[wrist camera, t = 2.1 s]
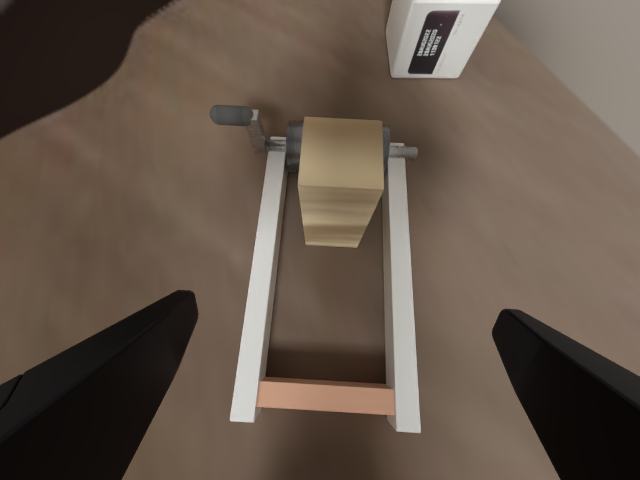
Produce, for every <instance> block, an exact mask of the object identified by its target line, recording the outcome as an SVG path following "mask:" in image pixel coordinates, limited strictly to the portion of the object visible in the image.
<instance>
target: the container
mask: <svg viewBox="0 0 640 480" xmlns="http://www.w3.org/2000/svg"><path fill="white" fill-rule="evenodd" d="M500 1H501V0H392V4H391V9H390V13H389V18H388V22H387V26H386V31H385V33H386V41H387V49H388V58H389V66H390V74H391V77H392V78H458V77H459V76H460V74H461V72H462V71H463V69H464V67H465V65H466V63H467V62H468V60H469V58H470V56H471V54H472V52H473V51H474V49H475V47H476V45H477V43H478V42H479V40H480V38H481V36H482V34H483V33H484V31H485V29H486V27H487V25H488V23H489V22H490V20H491V18H492V16H493V14H494V13H495V11H496V9H497V7H498V5H499V4H500Z"/></svg>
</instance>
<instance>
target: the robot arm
mask: <svg viewBox="0 0 640 480" xmlns="http://www.w3.org/2000/svg"><path fill="white" fill-rule="evenodd" d="M197 320H198V308H197V303H196V299H195V294H194V292H193V291H190V290H177V291H175V292H173V293H171V294H170V295H168V296H166V297H164V298H162V299H160V300H158V301H157V302H155V303H153V304H151V305H149V306H147V307H145V308H143V309H142V310H140V311H138V312H136V313H134V314H132V315H130V316H128V317H127V318H125V319H123V320H121V321H119V322H117V323H115V324H114V325H112V326H110V327H108V328H106V329H104V330H102V331H100V332H99V333H97V334H95V335H93V336H91V337H89V338H87V339H85V340H84V341H82V342H80V343H78V344H76V345H74V346H72V347H71V348H69V349H67V350H65V351H63V352H61V353H59V354H57V355H56V356H54V357H52V358H50V359H48V360H46V361H44V362H43V363H41V364H39V365H37V366H35V367H33V368H31V369H29V370H28V371H26V372H25V373H24V374H23V375H18V376H16V377H14V378H12V379H11V380H9V381H7V382H5V383H3V384H1V385H0V480H122V478H123V476H124V474H125V472H126V470H127V468H128V466H129V464H130V462H131V460H132V458H133V456H134V455H135V453H136V451H137V449H138V447H139V445H140V443H141V441H142V439H143V437H144V435H145V433H146V431H147V429H148V427H149V425H150V423H151V421H152V419H153V418H154V416H155V414H156V412H157V410H158V408H159V406H160V404H161V402H162V400H163V398H164V396H165V394H166V392H167V390H168V388H169V386H170V384H171V383H172V381H173V379H174V377H175V375H176V372H177V370H178V368H179V366H180V363H181V361H182V358H183V356H184V353H185V351H186V348H187V346H188V343H189V341H190V338H191V335H192V333H193V330H194V328H195V325H196V323H197ZM492 336H493V340H494V342H495V345H496V347H497V350H498V352H499V354H500V357H501V359H502V362H503V364H504V367H505V369H506V372H507V374H508V377H509V379H510V381H511V384H512V386H513V388H514V391H515V393H516V395H517V397H518V399H519V401H520V403H521V404H522V406H523V408H524V410H525V412H526V414H527V416H528V418H529V420H530V422H531V424H532V426H533V428H534V430H535V431H536V433H537V435H538V437H539V439H540V441H541V443H542V445H543V447H544V449H545V451H546V453H547V455H548V457H549V458H550V460H551V462H552V464H553V466H554V468H555V470H556V472H557V474H558V476H559V478H560V480H640V376H638V375H636V374H634V373H632V372H631V371H629V370H627V369H625V368H623V367H622V366H620V365H618V364H616V363H614V362H613V361H611V360H609V359H607V358H605V357H604V356H602V355H600V354H598V353H596V352H595V351H593V350H591V349H589V348H587V347H586V346H584V345H582V344H580V343H578V342H577V341H575V340H573V339H571V338H569V337H568V336H566V335H564V334H562V333H560V332H559V331H557V330H555V329H553V328H551V327H550V326H548V325H546V324H544V323H542V322H541V321H539V320H537V319H535V318H533V317H532V316H530V315H528V314H526V313H524V312H522V311H521V310H517V309H503V310H502V311H501V312H500V314H499V316H498V318H497V320H496V323H495V325H494V327H493V329H492Z"/></svg>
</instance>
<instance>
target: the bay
mask: <svg viewBox="0 0 640 480" xmlns="http://www.w3.org/2000/svg"><path fill="white" fill-rule="evenodd" d="M210 117H211V119H212V121H213V122H214V123H216V124H218V125H233V126H246V128H247V131H248V133H249V136H250V139H251V142H252V145H253V148H254V151H255V153H263V154H266V153H268V159H267V166H266V173H265V179H264V186H263V193H262V200H261V207H260V214H259V221H258V228H257V235H256V242H255V249H254V256H253V263H252V270H251V277H250V284H249V291H248V297H247V304H246V311H245V318H244V325H243V332H242V339H241V346H240V353H239V360H238V367H237V374H236V381H235V388H234V395H233V402H232V409H231V415H230V421H238V422H254V421H255V420H256V418H257V417H258V415H259V414H260V413H261V410H262V407H270V408H286V409H302V410H317V411H333V412H349V413H365V414H381V415H387V420H388V421H389V423H390V424H391V425H392V426H393V428H394V429H395V430H396V431H397V432H412V433H421V428H420V411H419V394H418V377H417V359H416V342H415V325H414V308H413V290H412V273H411V256H410V239H409V222H408V204H407V187H406V170H405V161H415V160H416V158H417V155H418V148H417V147H410V146H404V143H390V129H389V126H388V125H382V130H383V167H384V191H383V193H382V227H383V271H384V314H385V358H386V384H378V383H362V382H346V381H330V380H313V379H297V378H281V377H265V374H266V365H267V356H268V347H269V339H270V330H271V321H272V312H273V303H274V294H275V285H276V276H277V267H278V258H279V249H280V240H281V231H282V222H283V213H284V204H285V195H286V186H287V177H288V172H289V173H299V166H300V155H301V145H302V134H303V124H304V121H291V120H289V122H288V126H287V135H286V137H272V136H271V138H270V139H266V136H265V132H264V129H263V125H262V121H261V117H260V114H259V110H251V109H250V108H249V107H246V106H230V105H215V106H213V107H212V108H211V110H210Z"/></svg>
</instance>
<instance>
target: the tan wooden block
mask: <svg viewBox="0 0 640 480" xmlns="http://www.w3.org/2000/svg"><path fill="white" fill-rule="evenodd" d="M298 191H299V198H300V206H301V213H302V221H303V228H304V235H305V243H306V245H318V246H336V247H354V248H357V247H358V245H359V243H360V240H361V238H362V236H363V234H364V232H365V230H366V227H367V225H368V223H369V221H370V219H371V217H372V214H373V212H374V210H375V208H376V206H377V204H378V202H379V199H380V197H381V195H382V193H383V191H384V167H383V130H382V121H380V120H360V119H341V118H321V117H304V124H303V134H302V145H301V155H300V166H299V176H298Z"/></svg>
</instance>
